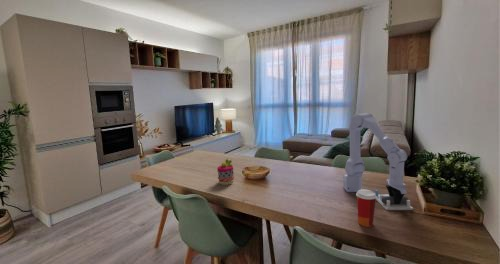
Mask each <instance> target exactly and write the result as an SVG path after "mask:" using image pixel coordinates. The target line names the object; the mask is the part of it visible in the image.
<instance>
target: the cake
mask: <svg viewBox="0 0 500 264" xmlns="http://www.w3.org/2000/svg"><path fill="white" fill-rule="evenodd" d="M232 162H233V160H231V159H228V158H227V159H225V160H224V161H222V162H221V165H219V166H217V176H218V177H217V179H218V185H220V184H222V185H221V186H223V185H226V186H229V185H228V184H231V185H233V184H234V183H233V182H235V181H234V180H235V175H234V166H233V164H232ZM232 183H233V184H232Z"/></svg>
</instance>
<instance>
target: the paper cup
mask: <svg viewBox="0 0 500 264" xmlns="http://www.w3.org/2000/svg"><path fill="white" fill-rule="evenodd" d="M355 193H356V194H355V196H356V203H357V205H356V206H357V208H356V209H357V222H358V224H359V225H360V226H362V227H366V228H370V227H372V226H373V224H374V217H375V216H374V214H375V208H376V207H375V205H376V197H377V196H376V194H375V191H373V190H369V189H366V188H365V189H364V188H362V189H361V190H358V192H355Z"/></svg>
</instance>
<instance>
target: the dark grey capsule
mask: <svg viewBox="0 0 500 264" xmlns="http://www.w3.org/2000/svg"><path fill="white" fill-rule="evenodd" d="M387 200H390V204H395V203H394V196H385V197H383V198H382V202H383V203H384V204H387ZM407 200H409V198H408V197H407V196H406V195H404V196H403V198H402V200H401V202H400V204H406V202H407Z"/></svg>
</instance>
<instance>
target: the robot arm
mask: <svg viewBox="0 0 500 264" xmlns="http://www.w3.org/2000/svg"><path fill="white" fill-rule="evenodd" d="M363 129H369V131H371V133H372V134H373V135H374V136H375V137H376V138H377V139H378V143H379V146H380V147H381V149H382V150H384V152H385V154H387V156H386V157H387V161H388V163H389V174H388V175H389V177H388V178H386V181H385V182H386V183H387V184H386V185H385V188H386V190H387V192H388V194H389V196H394V203H395V204H400V202H401V200H402V198H403V196H406V195H407V193H408V192H407V189H406V188H405V187H406V183H404V175H405V162H406V161H407V159H408V153H407V152H406V150H405V149H401V148H400V147H399V146H398V145H397V144H396V143H395V142H394V141H395V139H393V138H391V137H390V136H386V134H385V133H384V131H383V130H382V128H381V127H380V126H379V124H378V123H377V121H376V117H374V116H373V114H372V113H370V112H366V113H365V112H364V113H356V114H354V115H352V117H350V124H349V158H348V159H347V160H346V163H345V165H344V166H345V167H344V171H345V172H346V174H343V176H342V177H343V178H342V179H343V180H342V188H343V189H344V190H345V192H346V193H357V192H358V190H361V189H363V188H362V185H363V184H362V183H363V182H362V180H363V174H364V172H365V170H366V167H365V164H364V160H363V159H362V157H361V155H362V153H361V130H363Z"/></svg>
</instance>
